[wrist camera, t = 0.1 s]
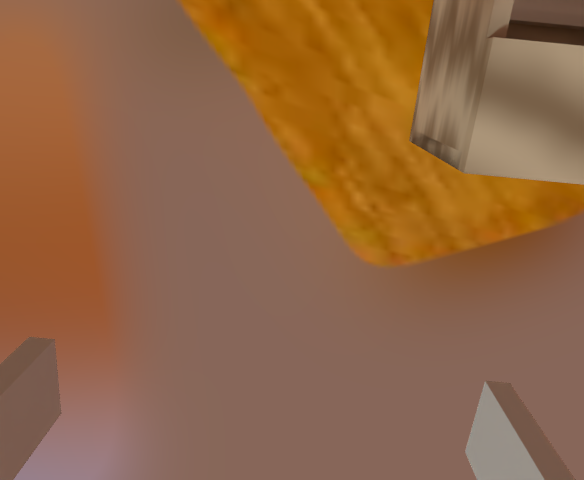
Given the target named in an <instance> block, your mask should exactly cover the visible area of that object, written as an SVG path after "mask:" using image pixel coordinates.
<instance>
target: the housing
mask: <svg viewBox="0 0 584 480" xmlns="http://www.w3.org/2000/svg"><path fill="white" fill-rule="evenodd" d="M513 3H514V0H434V3H433V9H432V14H431V20H430V26H429V32H428V37H427V43H426V49H425V54H424V60H423V66H422V72H421V77H420V83H419V89H418V95H417V100H416V106H415V112H414V118H413V123H412V129H411V135H410V140H409V141H411V142H412V143H414V144H416V145H417V146H419V147H421V148H422V149H424V150H426V151H428V152H429V153H431V154H433V155H434V156H436V157H438V158H439V159H441V160H443V161H444V162H446V163H448V164H450V165H451V166H453V167H455V168H456V169H458V170H460V171H461V172H463V173H469V174H480V175H490V176H501V177H511V178H522V179H532V180H543V181H553V182H563V183H574V184H584V30H577V29H566V28H556V27H546V26H536V25H526V24H515V23H509V21H510V16H511V12H512V8H513Z"/></svg>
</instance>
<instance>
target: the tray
mask: <svg viewBox="0 0 584 480" xmlns="http://www.w3.org/2000/svg"><path fill="white" fill-rule="evenodd" d="M509 23H515V24H526V25H536V26H546V27H556V28H566V29H577V30H584V0H514V3H513V8H512V12H511V16H510V21H509Z"/></svg>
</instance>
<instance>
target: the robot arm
mask: <svg viewBox="0 0 584 480" xmlns="http://www.w3.org/2000/svg"><path fill="white" fill-rule="evenodd" d="M60 407H61V406H60V394H59V383H58V372H57V360H56V349H55V339H46V338H35V337H29V338H28V339H27V340H25V341H24V342H23V343H22V344H21V345H20V346H19V347H18V348H17V349H16V350H15V351H14V352H13V353H12V354H11V355H10V356H8V357H7V358H6V359H5V360H4V361H3V362H2V363H1V364H0V480H13V479H14V478H15V477H16V475H17V474H18V472H19V471H20V470H21V468H22V467H23V466H24V464H25V463H26V461H27V460H28V459H29V457H30V456H31V454H32V453H33V452H34V450H35V449H36V448H37V446H38V445H39V443H40V442H41V441H42V439H43V438H44V436H45V435H46V434H47V432H48V431H49V430H50V428H51V427H52V425H53V424H54V423H55V421H56V420H57V418H58V417H59V416H60V414H61V408H60ZM465 452H466V455H467V457H468V460H469V462H470V464H471V466H472V469H473V471H474V473H475V475H476V478H477V480H575V478H574V477H573V475H572V474H571V472H570V471H569V469H568V468H567V467H566V465H565V464H564V462H563V461H562V459H561V458H560V456H559V455H558V453H557V452H556V450H555V449H554V447H553V446H552V444H551V443H550V441H549V440H548V438H547V437H546V436H545V434H544V433H543V431H542V430H541V428H540V427H539V425H538V424H537V422H536V421H535V419H534V418H533V416H532V415H531V413H530V412H529V410H528V409H527V407H526V406H525V405H524V403H523V402H522V400H521V399H520V397H519V396H518V394H517V393H516V391H515V390H514V388H513V387H512V385H511V384H510V383H502V382H492V381H485V383H484V387H483V390H482V394H481V397H480V401H479V405H478V408H477V412H476V415H475V419H474V423H473V426H472V429H471V433H470V437H469V440H468V443H467V447H466V451H465Z"/></svg>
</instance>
